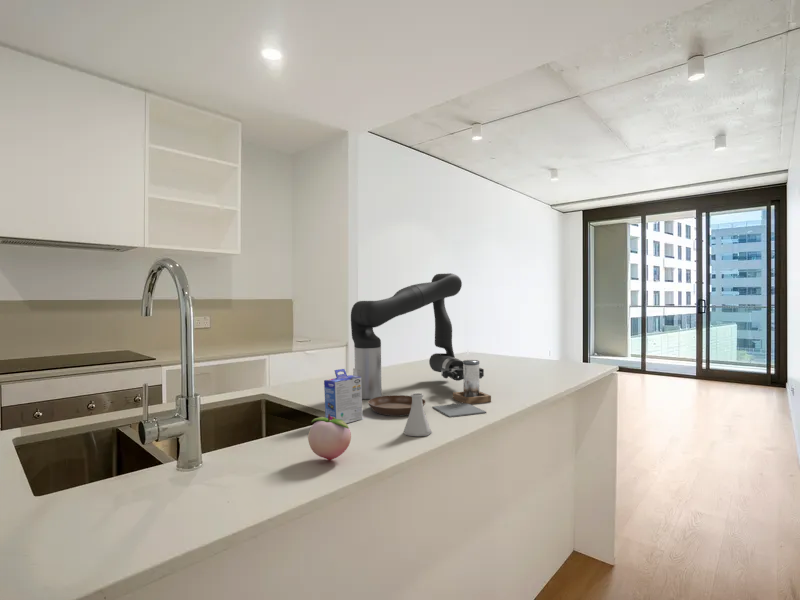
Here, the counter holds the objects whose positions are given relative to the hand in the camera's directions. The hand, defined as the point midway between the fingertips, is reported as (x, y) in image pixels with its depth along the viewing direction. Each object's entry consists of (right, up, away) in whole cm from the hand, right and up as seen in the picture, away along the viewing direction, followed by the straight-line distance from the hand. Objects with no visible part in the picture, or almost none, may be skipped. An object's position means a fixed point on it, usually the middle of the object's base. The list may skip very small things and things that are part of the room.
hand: (468, 376), depth 155 cm
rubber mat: (-5, -8, -15) cm, 18 cm away
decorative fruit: (-38, -9, -56) cm, 69 cm away
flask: (-19, -9, -37) cm, 43 cm away
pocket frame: (+1, -8, -3) cm, 8 cm away
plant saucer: (-24, -9, -14) cm, 29 cm away
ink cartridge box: (-39, -9, -25) cm, 47 cm away
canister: (+1, -8, -3) cm, 8 cm away
